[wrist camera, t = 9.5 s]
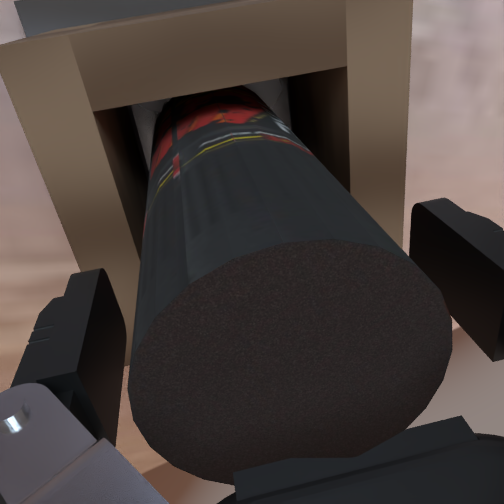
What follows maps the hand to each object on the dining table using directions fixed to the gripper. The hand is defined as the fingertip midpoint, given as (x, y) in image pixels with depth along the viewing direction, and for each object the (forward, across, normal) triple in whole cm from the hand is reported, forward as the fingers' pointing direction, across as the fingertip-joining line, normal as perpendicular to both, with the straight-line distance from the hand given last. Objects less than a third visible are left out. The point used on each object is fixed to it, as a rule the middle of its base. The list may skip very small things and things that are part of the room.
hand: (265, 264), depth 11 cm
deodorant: (+11, 0, 0) cm, 11 cm away
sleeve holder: (+13, 0, 0) cm, 13 cm away
